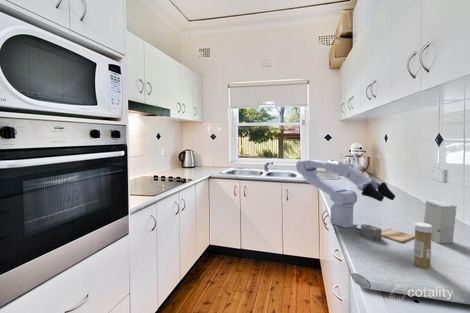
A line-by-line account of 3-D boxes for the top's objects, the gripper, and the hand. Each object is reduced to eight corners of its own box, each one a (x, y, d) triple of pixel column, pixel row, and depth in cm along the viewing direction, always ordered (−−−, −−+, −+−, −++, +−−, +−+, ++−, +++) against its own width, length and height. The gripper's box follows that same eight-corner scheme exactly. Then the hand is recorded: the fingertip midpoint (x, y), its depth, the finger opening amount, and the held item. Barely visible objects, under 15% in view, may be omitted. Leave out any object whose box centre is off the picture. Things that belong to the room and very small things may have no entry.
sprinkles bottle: (433, 269, 80) (435, 227, 78) (417, 268, 80) (419, 226, 79) (425, 262, 84) (427, 222, 83) (410, 261, 85) (411, 221, 84)
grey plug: (353, 233, 110) (353, 223, 110) (359, 231, 112) (359, 222, 112) (377, 241, 101) (378, 231, 101) (383, 239, 103) (383, 229, 103)
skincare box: (422, 235, 106) (423, 200, 105) (435, 235, 106) (437, 199, 105) (440, 244, 97) (442, 205, 96) (455, 243, 98) (457, 205, 97)
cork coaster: (376, 234, 108) (376, 233, 108) (389, 229, 113) (389, 228, 113) (402, 243, 99) (402, 241, 99) (414, 237, 104) (414, 235, 104)
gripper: (353, 172, 106) (382, 191, 96) (375, 171, 114) (403, 189, 103) (346, 186, 109) (373, 206, 99) (367, 185, 116) (395, 203, 106)
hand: (388, 198), depth 101 cm, fingers open, 7 cm apart
